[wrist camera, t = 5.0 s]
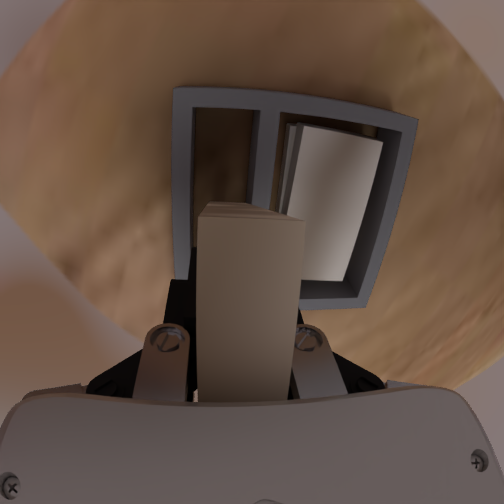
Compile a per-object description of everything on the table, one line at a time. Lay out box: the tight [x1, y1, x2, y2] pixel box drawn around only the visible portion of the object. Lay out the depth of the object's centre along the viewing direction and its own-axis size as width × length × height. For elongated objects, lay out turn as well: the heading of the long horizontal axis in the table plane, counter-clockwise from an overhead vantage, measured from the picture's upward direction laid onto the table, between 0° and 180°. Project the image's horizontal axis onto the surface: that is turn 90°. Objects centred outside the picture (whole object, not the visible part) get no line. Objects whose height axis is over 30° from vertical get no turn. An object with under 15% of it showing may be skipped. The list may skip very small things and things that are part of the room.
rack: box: [171, 86, 419, 310], centre depth 19 cm, size 14×14×3 cm
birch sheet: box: [196, 201, 306, 402], centre depth 12 cm, size 2×7×12 cm, turn 175°
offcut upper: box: [281, 122, 383, 281], centre depth 20 cm, size 5×10×2 cm, turn 172°
